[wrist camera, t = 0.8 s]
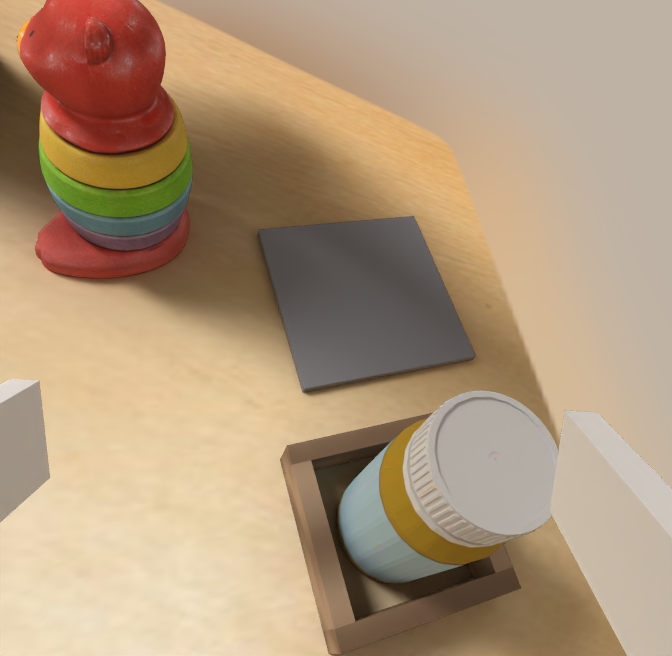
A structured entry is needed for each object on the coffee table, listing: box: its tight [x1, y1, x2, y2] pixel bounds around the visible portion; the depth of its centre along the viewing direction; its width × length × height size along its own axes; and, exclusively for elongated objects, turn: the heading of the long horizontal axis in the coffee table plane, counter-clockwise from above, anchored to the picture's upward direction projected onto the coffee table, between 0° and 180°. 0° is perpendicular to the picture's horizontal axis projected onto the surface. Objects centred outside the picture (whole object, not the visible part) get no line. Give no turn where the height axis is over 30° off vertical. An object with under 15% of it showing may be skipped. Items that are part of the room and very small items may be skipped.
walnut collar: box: [280, 413, 521, 654], centre depth 34 cm, size 11×11×3 cm
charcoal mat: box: [258, 216, 475, 392], centre depth 44 cm, size 14×14×1 cm
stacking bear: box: [17, 0, 193, 278], centre depth 35 cm, size 11×10×18 cm
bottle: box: [337, 390, 559, 584], centre depth 29 cm, size 7×7×15 cm
